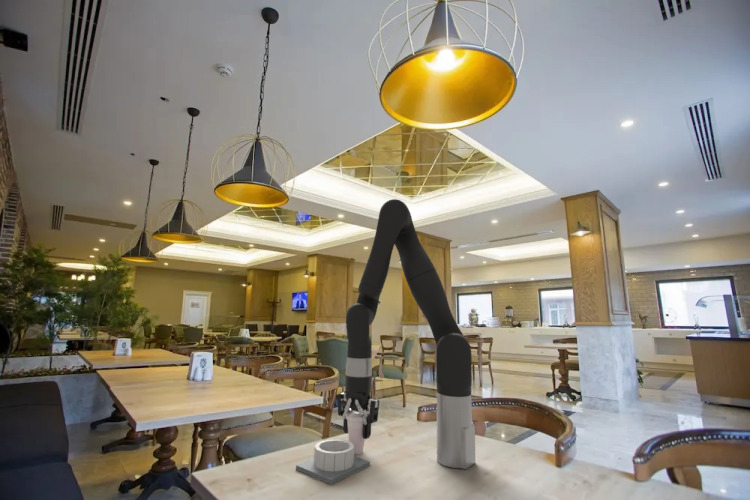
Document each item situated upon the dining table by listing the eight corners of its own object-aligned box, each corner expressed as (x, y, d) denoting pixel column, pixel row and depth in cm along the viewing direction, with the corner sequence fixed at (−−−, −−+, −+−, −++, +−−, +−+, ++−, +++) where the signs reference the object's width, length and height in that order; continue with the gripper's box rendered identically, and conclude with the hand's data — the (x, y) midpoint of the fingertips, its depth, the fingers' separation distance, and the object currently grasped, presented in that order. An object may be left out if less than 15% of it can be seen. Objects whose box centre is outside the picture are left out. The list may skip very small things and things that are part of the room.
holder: (370, 465, 94) (370, 444, 95) (331, 484, 83) (332, 460, 84) (335, 453, 101) (336, 434, 102) (295, 469, 90) (297, 447, 91)
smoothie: (367, 456, 100) (368, 401, 102) (343, 455, 100) (345, 400, 102) (368, 447, 106) (369, 396, 109) (345, 446, 106) (347, 395, 109)
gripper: (386, 375, 105) (385, 438, 102) (348, 369, 114) (346, 427, 111) (370, 378, 99) (368, 445, 97) (331, 371, 108) (328, 432, 105)
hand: (356, 435), depth 104 cm, fingers open, 6 cm apart
